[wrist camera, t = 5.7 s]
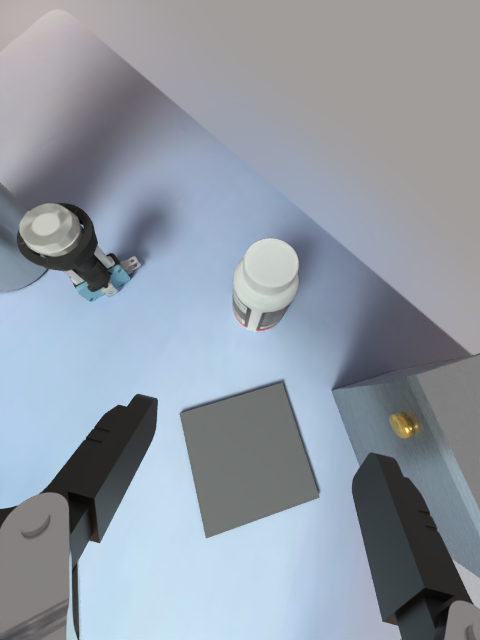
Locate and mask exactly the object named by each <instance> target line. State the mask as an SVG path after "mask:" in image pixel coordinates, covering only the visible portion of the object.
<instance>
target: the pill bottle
mask: <svg viewBox="0 0 480 640" xmlns="http://www.w3.org/2000/svg"><path fill="white" fill-rule="evenodd" d="M298 268H299V260H298V257H297V254H296V252H295V251H294V249H293V248H292V247H291V246H290V245H289V244H287V243H286V242H284V241H282V240H279V239H274V238H266V239H262V240H259V241H257V242H255V243H253V244H252V245H251V246H250V247H249V248H248V250H247V252H246V254H245V257H244V258H243V259H242V260H241V261H240V262H239V264H238V265H237V267H236V269H235V272H234V276H233V303H232V306H233V314H234V316H235V318H236V320H237V322H238V323H239V324H240V325H241V326H242V327H244V328H245V329H247V330H250V331H254V332H264V331H267V330H270V329H272V328H273V327H275V326H276V325H277V324H278V323H279V321H280V320H281V319H282V317H283V315H284V314H285V312H286V310H287V309H288V307H289V305H290V304H291V302H292V301H293V299H294V297H295V295H296V293H297V290H298V286H299V278H298V273H297V272H298Z"/></svg>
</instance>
